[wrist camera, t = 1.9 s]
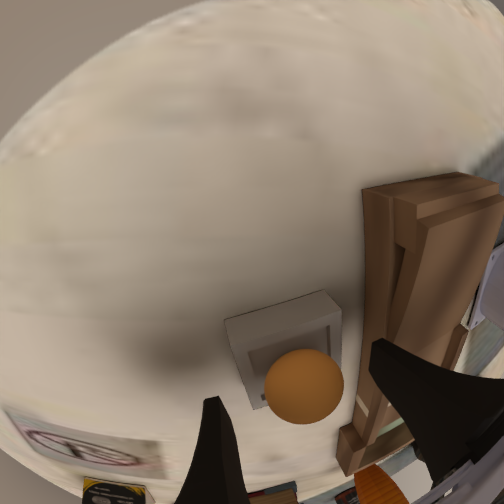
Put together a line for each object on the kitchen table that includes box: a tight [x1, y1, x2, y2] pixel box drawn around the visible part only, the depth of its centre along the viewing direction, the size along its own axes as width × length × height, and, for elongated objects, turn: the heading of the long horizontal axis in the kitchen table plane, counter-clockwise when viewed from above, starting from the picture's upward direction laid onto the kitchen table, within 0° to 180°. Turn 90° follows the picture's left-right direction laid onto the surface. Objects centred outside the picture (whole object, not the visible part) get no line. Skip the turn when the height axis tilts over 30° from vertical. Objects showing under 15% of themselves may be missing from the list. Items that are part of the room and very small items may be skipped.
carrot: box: [354, 464, 409, 504], centre depth 18 cm, size 5×5×15 cm
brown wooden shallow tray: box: [336, 172, 504, 477], centre depth 16 cm, size 10×28×4 cm, turn 11°
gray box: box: [224, 290, 342, 410], centre depth 13 cm, size 5×5×2 cm
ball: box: [264, 349, 344, 424], centre depth 11 cm, size 4×4×4 cm
